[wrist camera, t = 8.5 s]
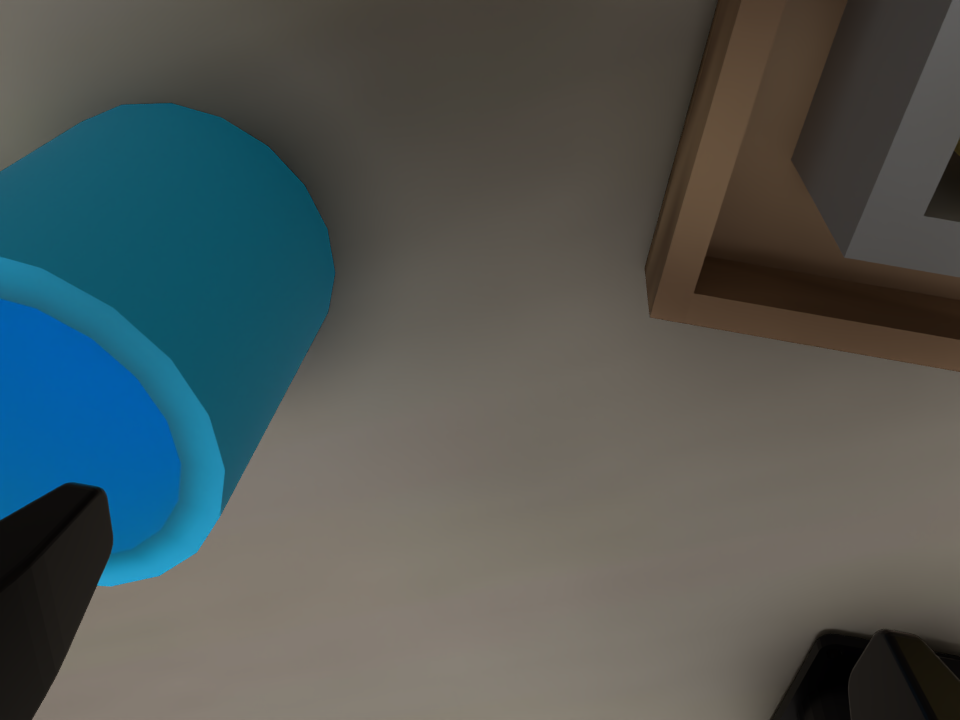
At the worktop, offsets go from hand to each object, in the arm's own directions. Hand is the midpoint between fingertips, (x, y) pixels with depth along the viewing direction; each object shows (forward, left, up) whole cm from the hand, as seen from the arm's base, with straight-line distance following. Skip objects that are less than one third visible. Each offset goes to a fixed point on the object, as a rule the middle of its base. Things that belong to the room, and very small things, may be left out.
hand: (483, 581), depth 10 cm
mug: (-4, +11, -13) cm, 18 cm away
